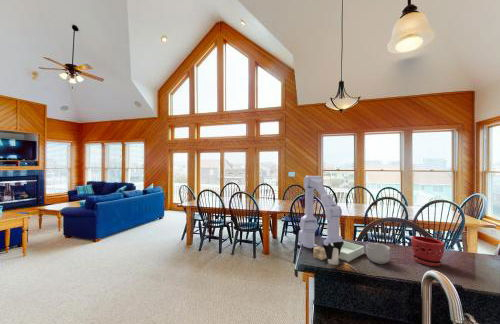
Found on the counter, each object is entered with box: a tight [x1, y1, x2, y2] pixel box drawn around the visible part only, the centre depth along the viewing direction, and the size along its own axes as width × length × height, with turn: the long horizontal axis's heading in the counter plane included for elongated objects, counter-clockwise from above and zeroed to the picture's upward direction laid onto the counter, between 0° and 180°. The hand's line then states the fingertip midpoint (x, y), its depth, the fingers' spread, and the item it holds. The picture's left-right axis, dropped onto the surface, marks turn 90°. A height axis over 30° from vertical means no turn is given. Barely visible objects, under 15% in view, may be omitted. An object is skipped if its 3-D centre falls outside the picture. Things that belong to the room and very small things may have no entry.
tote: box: [322, 239, 365, 263], centre depth 123 cm, size 14×19×4 cm
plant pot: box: [410, 235, 445, 267], centre depth 112 cm, size 13×13×12 cm
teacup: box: [365, 242, 391, 265], centre depth 114 cm, size 14×11×8 cm
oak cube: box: [312, 245, 327, 261], centre depth 116 cm, size 5×5×5 cm
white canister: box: [327, 248, 339, 266], centre depth 109 cm, size 5×5×7 cm
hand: (333, 257), depth 109 cm, fingers open, 7 cm apart
